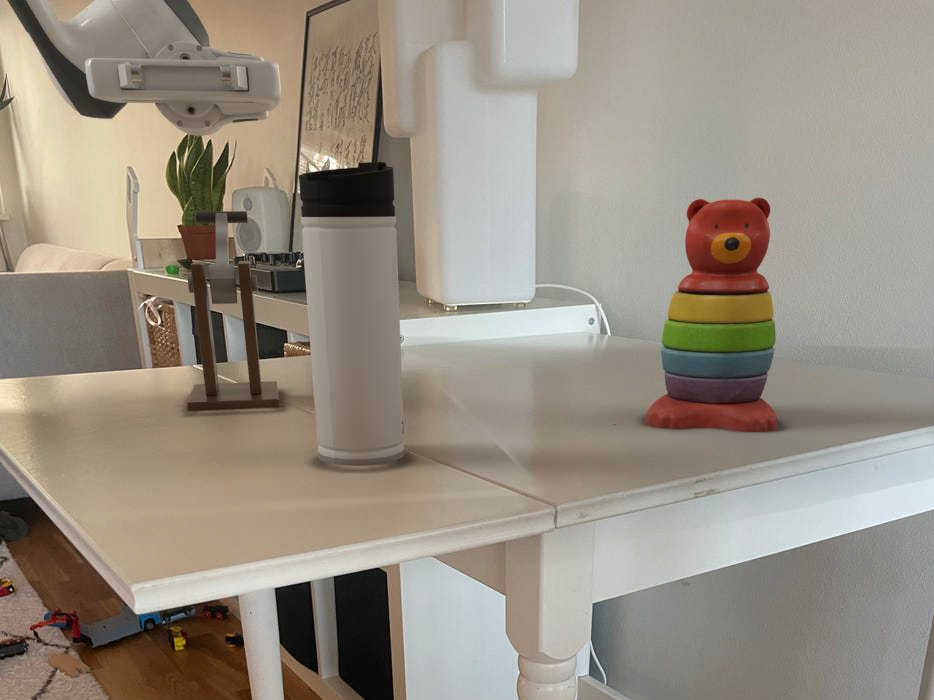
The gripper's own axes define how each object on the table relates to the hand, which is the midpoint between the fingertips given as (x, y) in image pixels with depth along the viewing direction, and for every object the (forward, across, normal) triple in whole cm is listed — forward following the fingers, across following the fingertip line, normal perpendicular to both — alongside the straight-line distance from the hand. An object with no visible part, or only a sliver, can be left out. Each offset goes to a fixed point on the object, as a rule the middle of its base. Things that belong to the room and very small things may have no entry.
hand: (181, 72), depth 99 cm
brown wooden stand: (+22, +3, +30) cm, 38 cm away
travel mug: (+48, +13, +30) cm, 58 cm away
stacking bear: (+39, +44, +30) cm, 66 cm away
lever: (+16, +3, +17) cm, 24 cm away
